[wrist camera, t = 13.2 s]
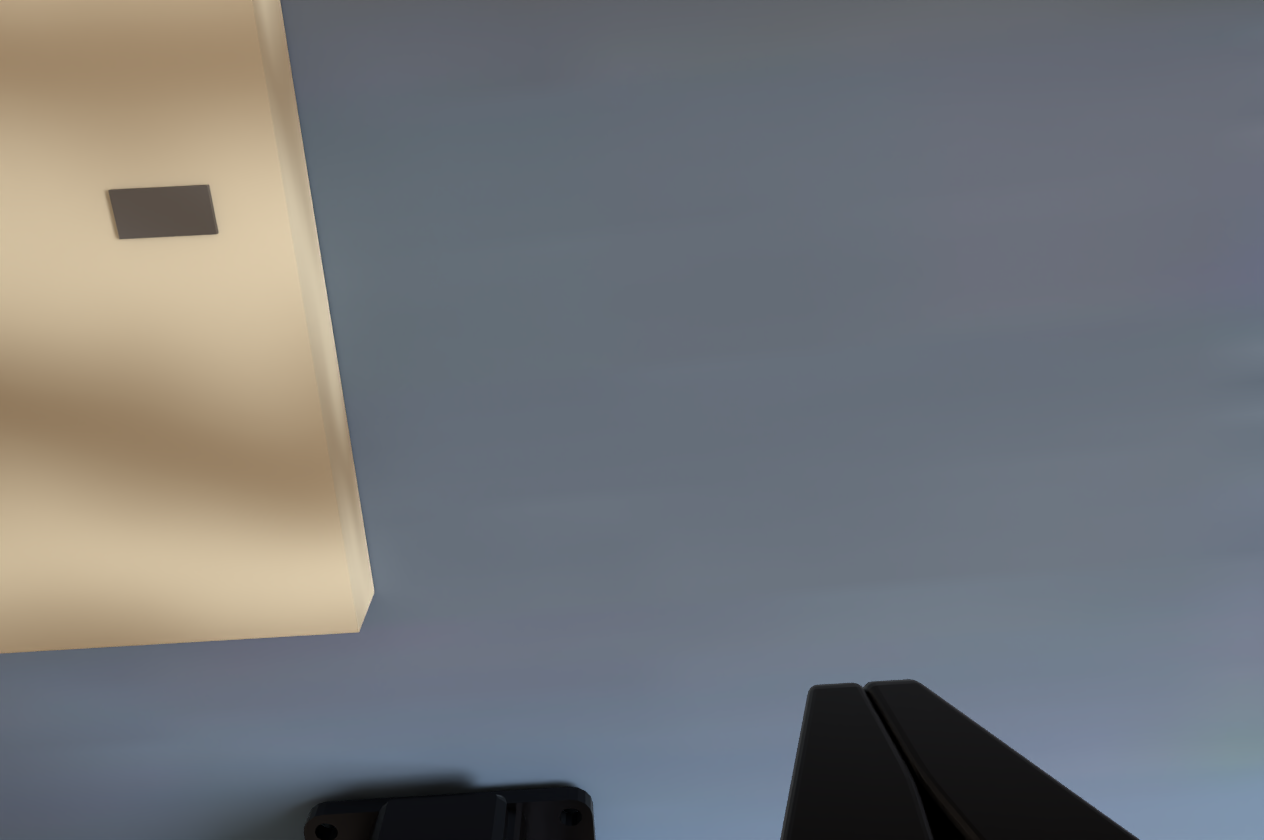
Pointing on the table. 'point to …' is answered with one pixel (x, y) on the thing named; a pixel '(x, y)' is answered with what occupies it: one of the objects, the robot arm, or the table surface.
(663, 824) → the table surface
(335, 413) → the base plate
